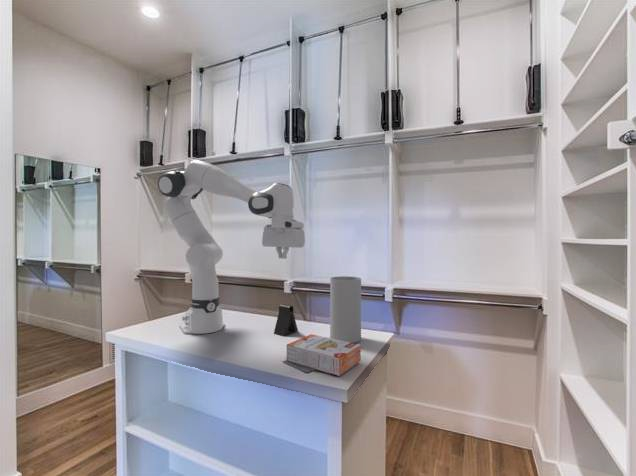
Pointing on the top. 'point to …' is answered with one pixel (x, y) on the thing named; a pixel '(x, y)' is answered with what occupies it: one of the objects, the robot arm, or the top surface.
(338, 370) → the cracker box
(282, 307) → the phone stand
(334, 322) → the cylinder vase
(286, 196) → the robot arm
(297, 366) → the mat
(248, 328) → the top surface
